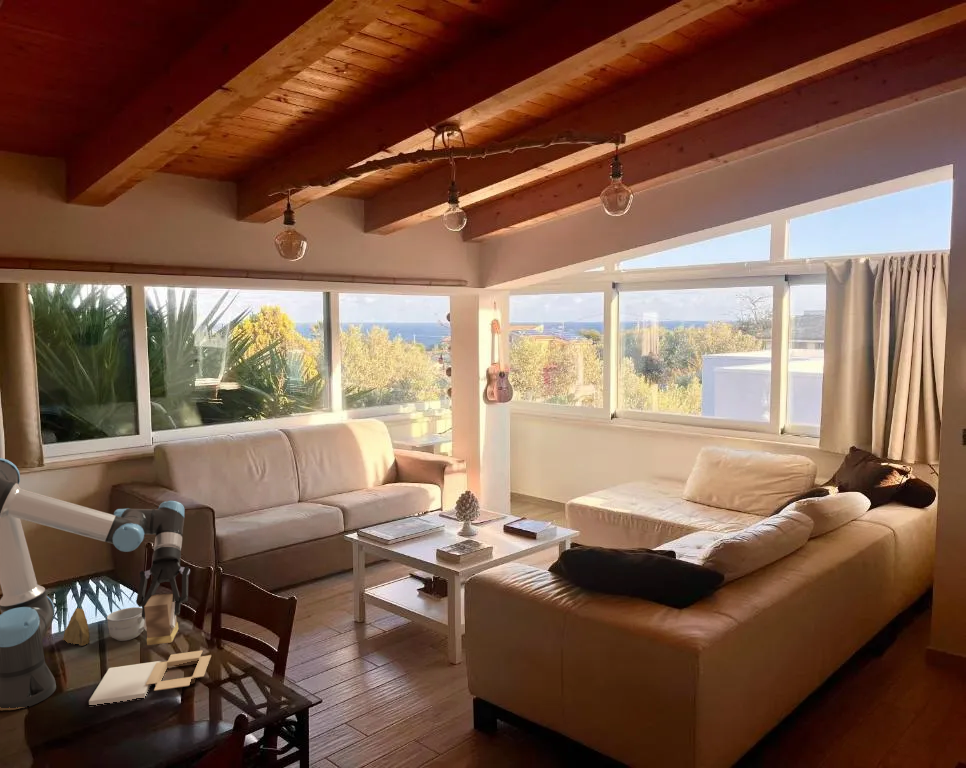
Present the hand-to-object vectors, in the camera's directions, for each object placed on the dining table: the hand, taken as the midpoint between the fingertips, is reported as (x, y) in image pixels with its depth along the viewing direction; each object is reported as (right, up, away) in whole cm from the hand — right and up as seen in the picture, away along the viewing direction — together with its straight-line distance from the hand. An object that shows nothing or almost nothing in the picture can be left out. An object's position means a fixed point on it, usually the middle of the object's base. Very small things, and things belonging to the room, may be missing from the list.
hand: (159, 627), depth 206 cm
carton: (+4, -15, +5) cm, 17 cm away
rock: (-40, -15, +31) cm, 53 cm away
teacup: (-23, -14, +32) cm, 42 cm away
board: (-10, -17, +2) cm, 20 cm away
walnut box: (0, -4, +3) cm, 5 cm away
